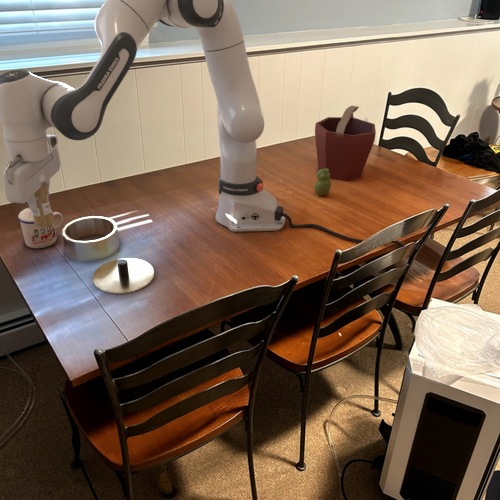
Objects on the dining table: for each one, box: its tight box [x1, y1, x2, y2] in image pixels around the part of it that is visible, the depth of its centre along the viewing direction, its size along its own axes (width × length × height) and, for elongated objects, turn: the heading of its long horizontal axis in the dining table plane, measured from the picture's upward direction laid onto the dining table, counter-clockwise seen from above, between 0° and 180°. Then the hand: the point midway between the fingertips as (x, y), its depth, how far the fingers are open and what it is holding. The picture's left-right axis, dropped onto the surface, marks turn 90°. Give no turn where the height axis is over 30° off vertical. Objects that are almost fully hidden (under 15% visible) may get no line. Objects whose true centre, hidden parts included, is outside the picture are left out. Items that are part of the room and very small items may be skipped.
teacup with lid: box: [17, 207, 64, 249], centre depth 139 cm, size 12×9×12 cm
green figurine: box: [314, 168, 332, 197], centre depth 171 cm, size 6×5×10 cm
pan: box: [61, 215, 121, 262], centre depth 137 cm, size 15×15×6 cm
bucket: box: [314, 105, 377, 182], centre depth 185 cm, size 24×22×25 cm
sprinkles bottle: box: [32, 173, 55, 228], centre depth 116 cm, size 5×5×14 cm
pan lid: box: [92, 257, 155, 295], centre depth 126 cm, size 16×16×5 cm
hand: (40, 203), depth 116 cm, fingers closed on sprinkles bottle, 4 cm apart
